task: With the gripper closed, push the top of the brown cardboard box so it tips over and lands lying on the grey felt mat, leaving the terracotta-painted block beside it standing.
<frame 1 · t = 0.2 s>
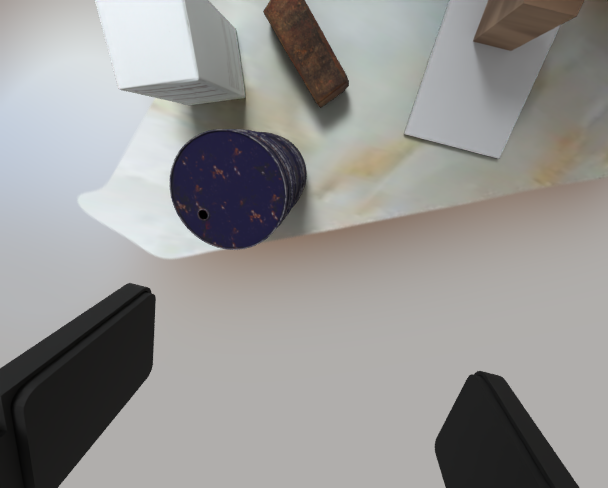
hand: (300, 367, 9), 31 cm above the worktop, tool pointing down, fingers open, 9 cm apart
brick: (309, 56, 34), on the worktop
brown cardboard box: (500, 23, 30), point 1 cm above the worktop, touching mat
supplement box: (212, 69, 35), on the worktop
dark blue ribbed cylinder: (269, 174, 38), on the worktop
mat: (478, 74, 32), on the worktop
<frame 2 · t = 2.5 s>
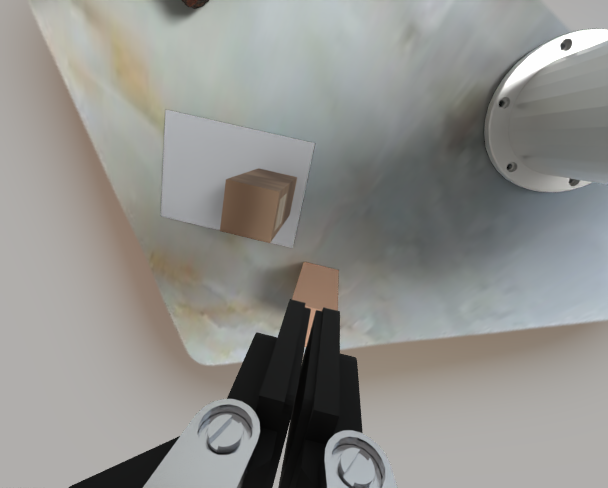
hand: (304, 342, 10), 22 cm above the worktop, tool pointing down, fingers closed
terracotta block: (317, 281, 34), on the worktop
brown cardboard box: (274, 192, 31), point 1 cm above the worktop, touching mat
mat: (234, 181, 31), on the worktop
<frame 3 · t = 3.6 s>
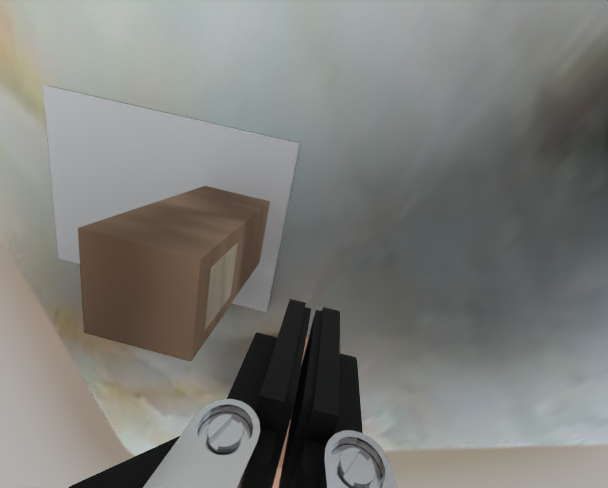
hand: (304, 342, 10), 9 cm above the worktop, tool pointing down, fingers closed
brown cardboard box: (233, 225, 18), point 1 cm above the worktop, touching mat
mat: (168, 206, 19), on the worktop
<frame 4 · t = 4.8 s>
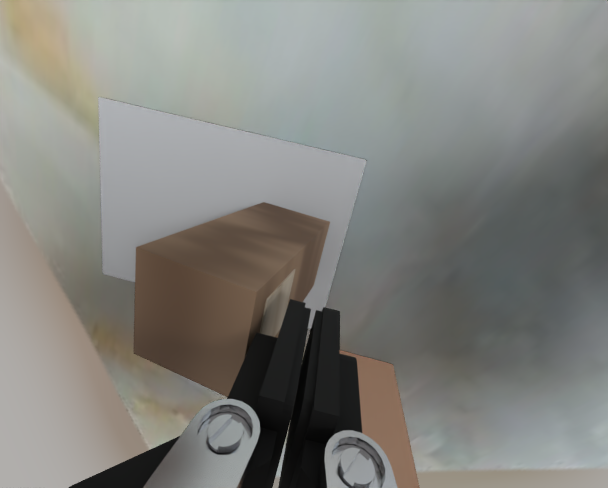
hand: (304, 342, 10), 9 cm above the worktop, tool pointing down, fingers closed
terracotta block: (356, 378, 21), on the worktop
brown cardboard box: (289, 244, 17), point 1 cm above the worktop, tilted 10°, touching gripper, mat
mat: (221, 221, 18), on the worktop
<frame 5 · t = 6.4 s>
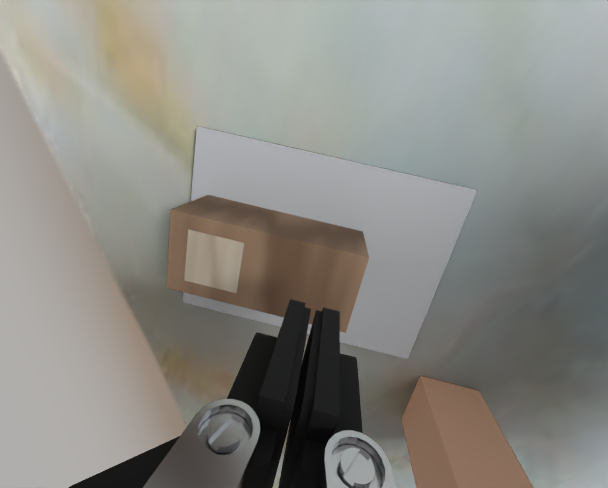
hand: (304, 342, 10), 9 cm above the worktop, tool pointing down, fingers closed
terracotta block: (438, 405, 21), on the worktop
brown cardboard box: (354, 278, 15), point 3 cm above the worktop, tilted 90°, touching mat
mat: (312, 249, 18), on the worktop
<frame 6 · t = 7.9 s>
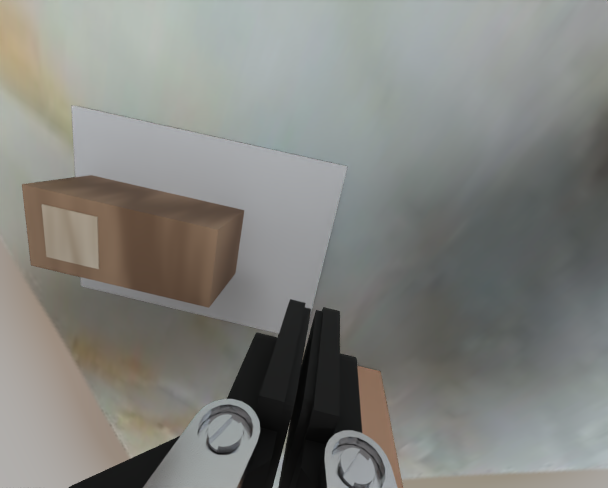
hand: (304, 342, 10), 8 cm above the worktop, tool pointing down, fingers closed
terracotta block: (343, 386, 21), on the worktop
brown cardboard box: (228, 255, 16), point 3 cm above the worktop, tilted 90°, touching mat
mat: (203, 230, 18), on the worktop
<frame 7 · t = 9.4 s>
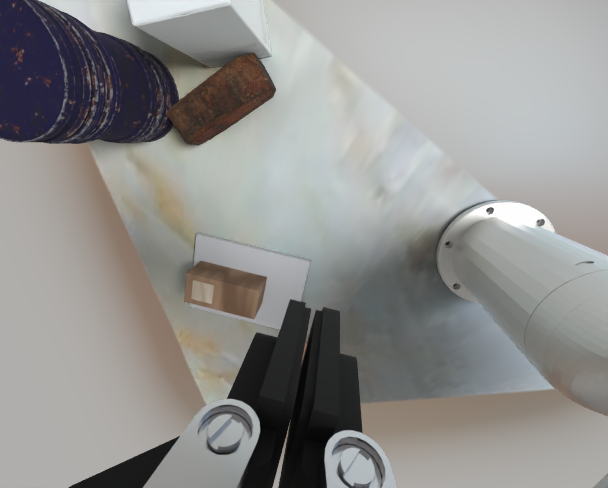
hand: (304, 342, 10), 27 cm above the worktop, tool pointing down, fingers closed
brick: (232, 104, 34), on the worktop
brown cardboard box: (260, 297, 38), point 3 cm above the worktop, tilted 90°, touching mat
supplement box: (233, 23, 31), on the worktop
dark blue ribbed cylinder: (140, 97, 34), on the worktop
mat: (247, 283, 40), on the worktop
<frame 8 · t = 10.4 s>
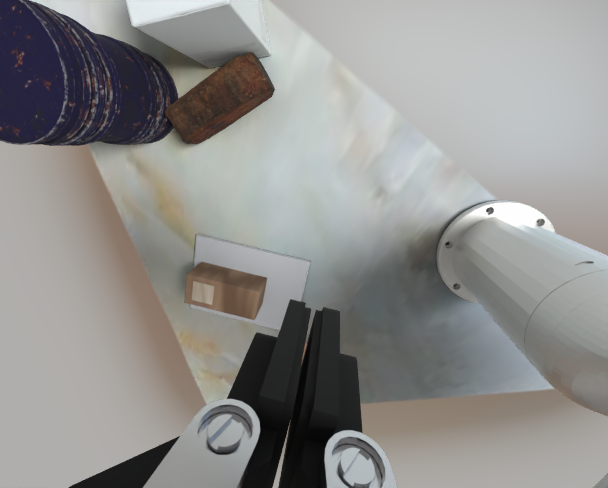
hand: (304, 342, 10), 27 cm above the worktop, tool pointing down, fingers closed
brick: (230, 104, 34), on the worktop
brown cardboard box: (261, 298, 38), point 3 cm above the worktop, tilted 90°, touching mat
supplement box: (232, 24, 31), on the worktop
dark blue ribbed cylinder: (139, 99, 34), on the worktop
mat: (248, 284, 40), on the worktop
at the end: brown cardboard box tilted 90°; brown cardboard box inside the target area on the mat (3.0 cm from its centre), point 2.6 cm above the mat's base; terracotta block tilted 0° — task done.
